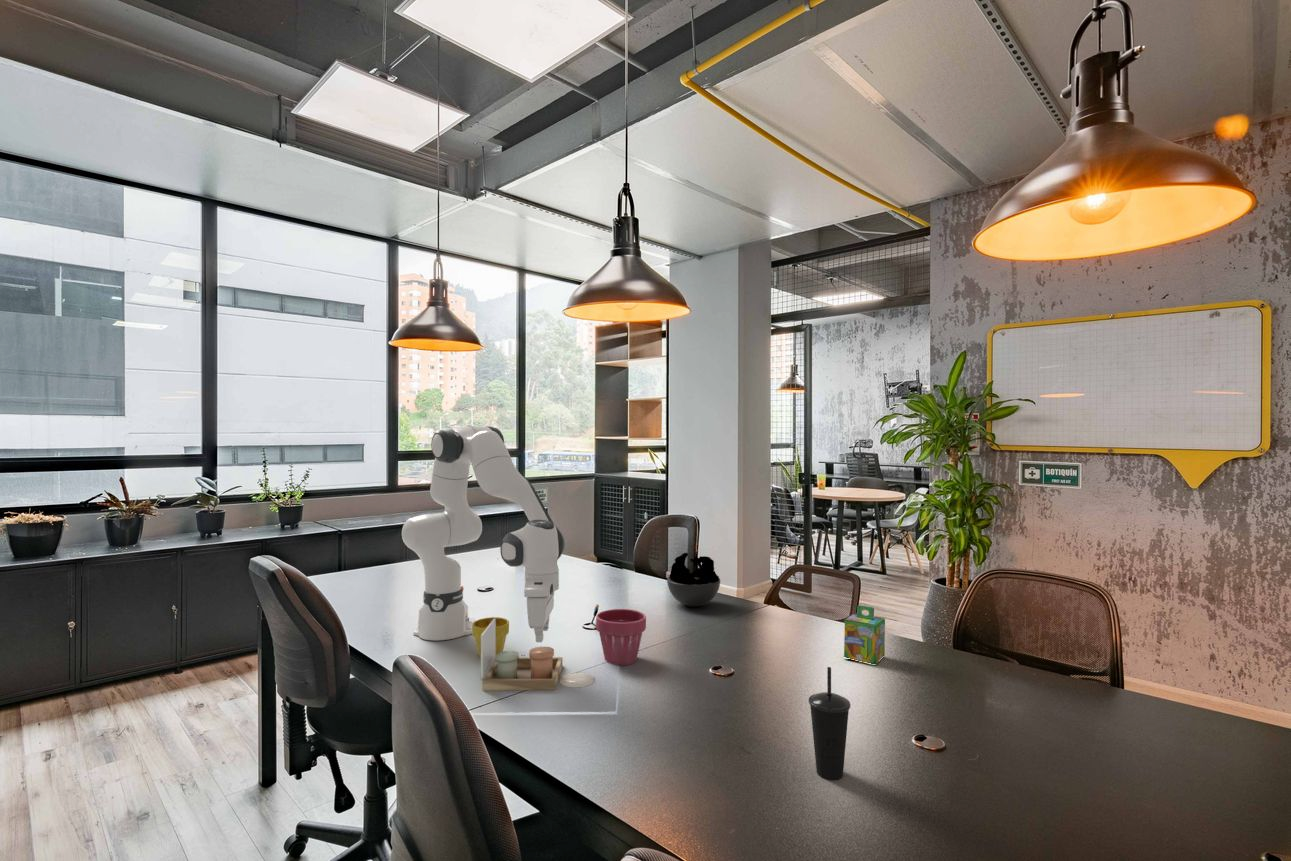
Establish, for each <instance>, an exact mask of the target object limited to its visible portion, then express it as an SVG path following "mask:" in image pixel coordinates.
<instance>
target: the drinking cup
mask: <svg viewBox="0 0 1291 861" xmlns="http://www.w3.org/2000/svg"><path fill="white" fill-rule="evenodd" d="M826 669H827V671H826V673H827V674H826V675H827V677H826V679H827V682H826V685H827V692H826V691H824V692H819V693H818V692H817V693H815V694H814V693H813V694H811V695H810V696H809V697H808V704H809V706H810V716H811V726H812V727H811V728H812V735H813V736H812V737H813V748H814V758H815V768H816V774H817V775H818V776H819V777H820V778H823V779H826V780H830V781H837V780H841V779H842V778H843V776H844V769H845V753H846V748H847V747H846V746H847V745H846V744H847V732H848V721H849V711H850V709H851V701H850V700H848V699H847V698H846V697H844V696H842V695H839V694H837V693H834V692H832V667H830V666H828V667H827V668H826Z"/></svg>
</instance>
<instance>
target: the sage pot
mask: <svg viewBox="0 0 1291 861" xmlns="http://www.w3.org/2000/svg"><path fill="white" fill-rule="evenodd" d="M519 654H520V653H519V652H518V651H515V650H503V652H500V653H498V654H496V661H497V679H516V678H517V660H518V658H520V657H519Z"/></svg>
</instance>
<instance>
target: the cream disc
mask: <svg viewBox="0 0 1291 861" xmlns="http://www.w3.org/2000/svg"><path fill="white" fill-rule="evenodd" d="M594 682H595V677H594V675H592V674H589V673H586V672H574V673H573V672H572V673H568V674H564V675H563V676H561V677H559V683H560V685H561V686H563V687H567V688H575V689H576V688H584V687H587V686H590V685H592V684H593V683H594Z"/></svg>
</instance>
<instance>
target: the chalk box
mask: <svg viewBox="0 0 1291 861" xmlns="http://www.w3.org/2000/svg"><path fill="white" fill-rule="evenodd" d="M862 611H867V612H868V614H866V613H863V612H862ZM843 632H844V633H843V635H844V639H843V640H844V642H843V644H844V646H843V658H844V657H846V658H850V659H854V660H858V661H862V662H867V663H871V664H877V663H878V662H879V660H880V659H881V658H882V657H883V656H884V657H885V653H886V652H885V651H886V650H885V647H886V646H885V645H886V643H885V641H886V639H885V638H886V619H885V618H884V617H880V616H875V607H872V606H867V605H857V609H856V612H854V613H852V614H851V615H849V616H848V617H846V618H845V619H844V631H843ZM879 663H880V662H879ZM879 663H878V664H879ZM878 664H877V665H878Z"/></svg>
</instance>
